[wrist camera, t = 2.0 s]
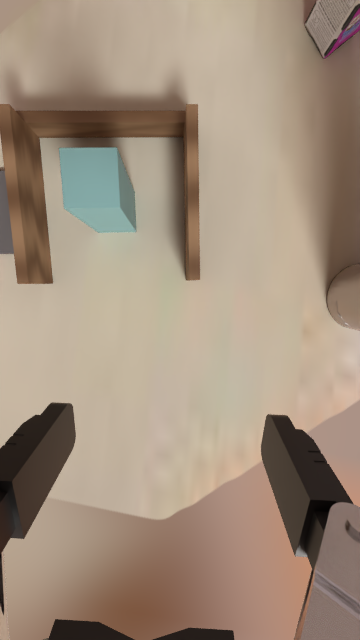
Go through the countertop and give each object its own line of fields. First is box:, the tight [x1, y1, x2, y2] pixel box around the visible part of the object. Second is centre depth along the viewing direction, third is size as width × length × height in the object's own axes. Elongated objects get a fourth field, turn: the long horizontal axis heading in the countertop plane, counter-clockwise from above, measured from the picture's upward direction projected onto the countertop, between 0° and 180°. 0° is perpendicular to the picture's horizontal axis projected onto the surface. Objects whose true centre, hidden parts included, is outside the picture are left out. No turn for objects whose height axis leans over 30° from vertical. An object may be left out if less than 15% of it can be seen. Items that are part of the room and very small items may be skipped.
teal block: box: [59, 147, 136, 233], centre depth 28 cm, size 5×5×11 cm
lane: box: [0, 104, 200, 284], centre depth 30 cm, size 19×20×6 cm
